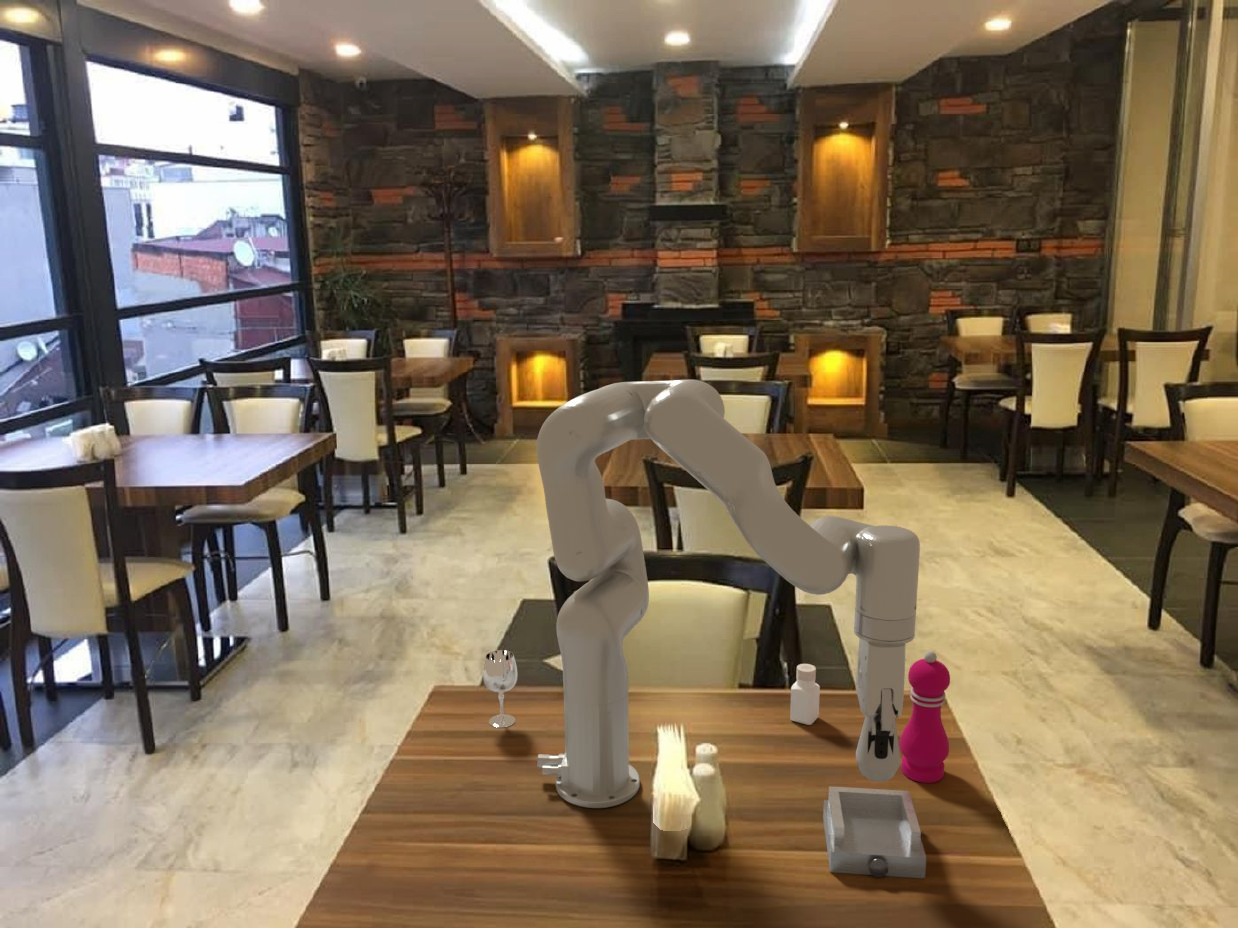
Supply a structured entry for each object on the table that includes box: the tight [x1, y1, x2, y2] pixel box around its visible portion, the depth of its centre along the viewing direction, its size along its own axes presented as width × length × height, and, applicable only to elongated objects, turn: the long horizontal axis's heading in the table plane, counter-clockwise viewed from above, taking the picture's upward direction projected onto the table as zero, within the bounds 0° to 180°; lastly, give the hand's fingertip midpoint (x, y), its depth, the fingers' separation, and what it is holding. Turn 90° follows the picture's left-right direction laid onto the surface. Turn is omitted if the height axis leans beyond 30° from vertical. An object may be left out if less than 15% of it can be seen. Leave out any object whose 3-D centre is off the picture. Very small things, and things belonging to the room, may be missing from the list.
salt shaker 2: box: [855, 708, 902, 783], centre depth 131 cm, size 6×6×13 cm
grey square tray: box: [822, 786, 927, 880], centre depth 134 cm, size 12×13×6 cm
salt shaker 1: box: [789, 663, 821, 726], centre depth 169 cm, size 4×4×10 cm
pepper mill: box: [899, 650, 951, 784], centre depth 151 cm, size 7×7×20 cm
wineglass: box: [482, 649, 518, 729], centre depth 169 cm, size 6×6×12 cm
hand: (877, 751), depth 132 cm, fingers closed on salt shaker 2, 3 cm apart
